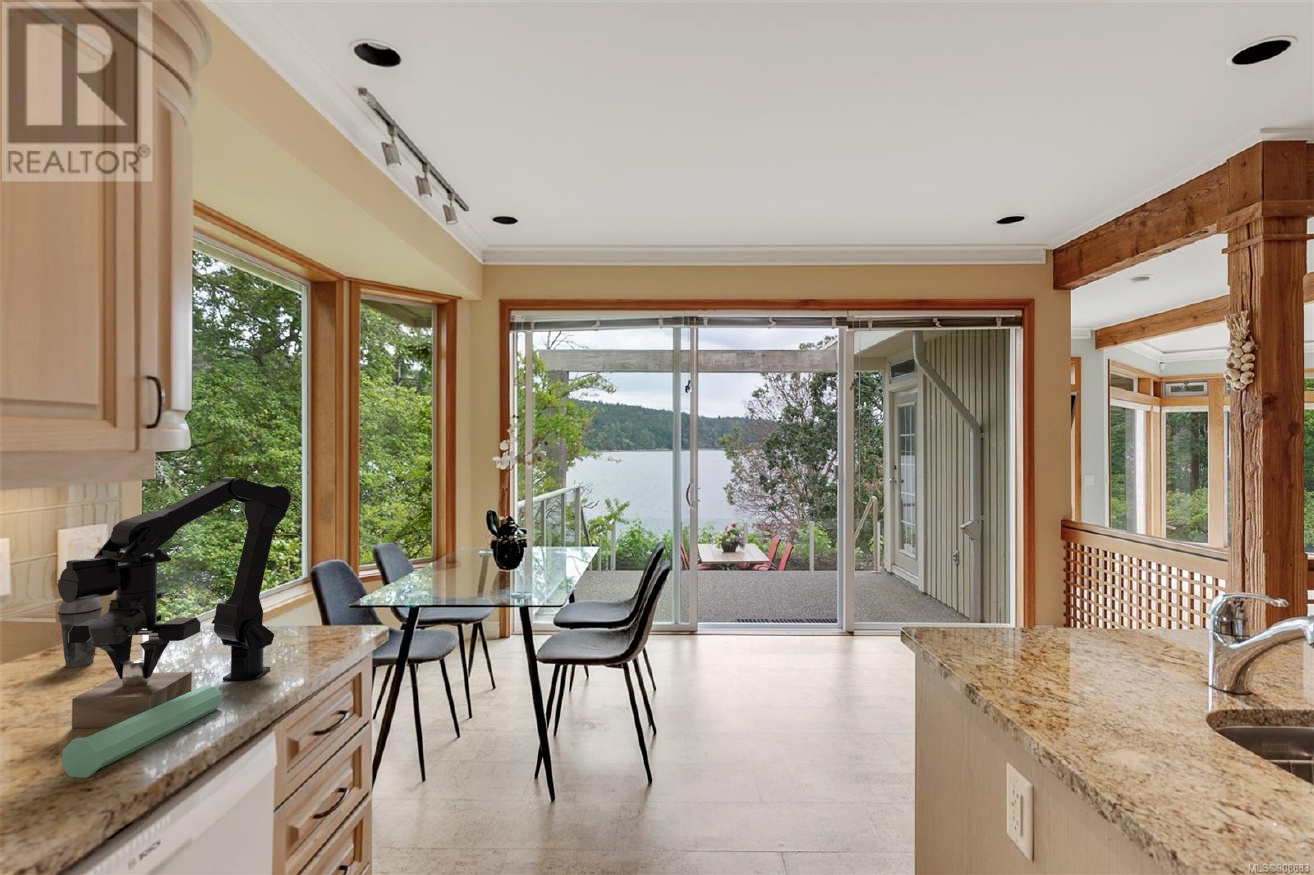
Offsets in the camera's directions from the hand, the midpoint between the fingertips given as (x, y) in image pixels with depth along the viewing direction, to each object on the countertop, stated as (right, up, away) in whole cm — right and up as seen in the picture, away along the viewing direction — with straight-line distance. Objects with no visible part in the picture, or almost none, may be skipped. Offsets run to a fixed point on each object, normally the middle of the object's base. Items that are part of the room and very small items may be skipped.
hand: (135, 678), depth 116 cm
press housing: (0, -6, 0) cm, 6 cm away
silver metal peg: (0, -6, 0) cm, 6 cm away
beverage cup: (-32, -6, +25) cm, 41 cm away
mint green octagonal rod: (+11, -7, -10) cm, 16 cm away
